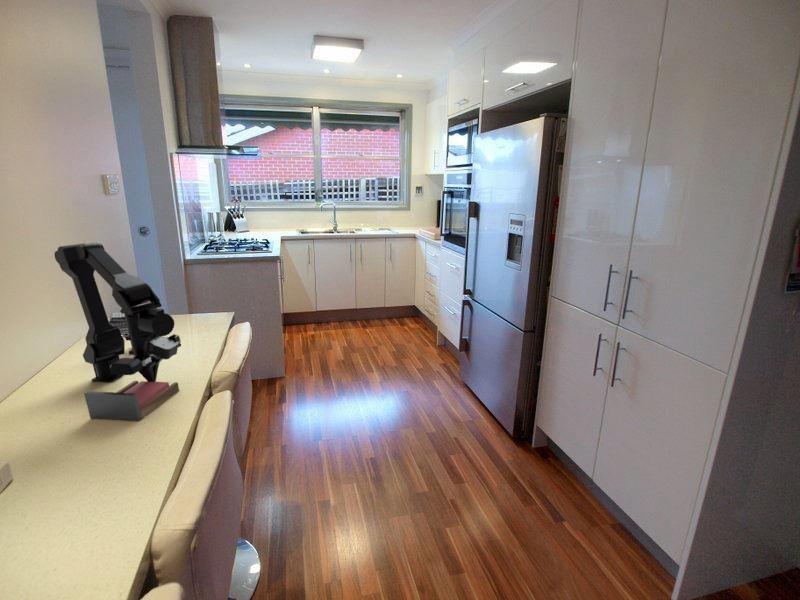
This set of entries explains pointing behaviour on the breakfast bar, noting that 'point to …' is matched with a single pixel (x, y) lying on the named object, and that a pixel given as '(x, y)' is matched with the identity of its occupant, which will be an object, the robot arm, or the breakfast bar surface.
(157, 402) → the slot rails
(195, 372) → the breakfast bar surface
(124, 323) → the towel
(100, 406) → the bookend
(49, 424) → the breakfast bar surface
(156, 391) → the pink rectangular block
